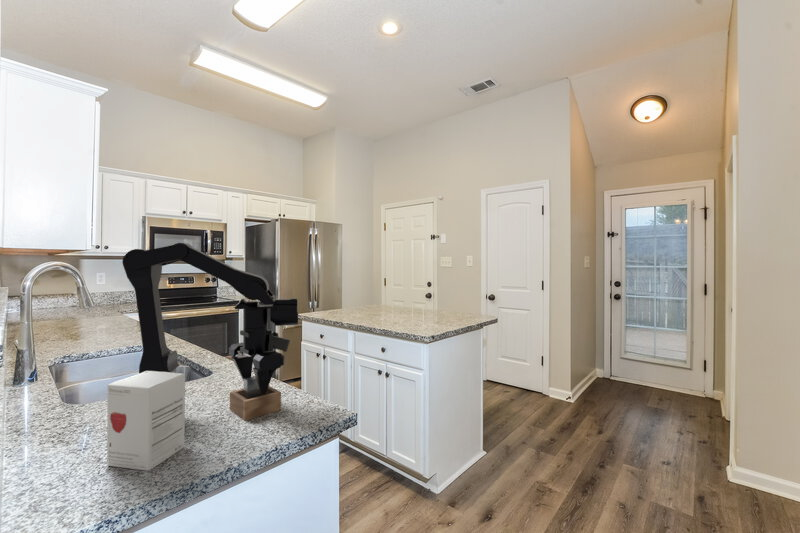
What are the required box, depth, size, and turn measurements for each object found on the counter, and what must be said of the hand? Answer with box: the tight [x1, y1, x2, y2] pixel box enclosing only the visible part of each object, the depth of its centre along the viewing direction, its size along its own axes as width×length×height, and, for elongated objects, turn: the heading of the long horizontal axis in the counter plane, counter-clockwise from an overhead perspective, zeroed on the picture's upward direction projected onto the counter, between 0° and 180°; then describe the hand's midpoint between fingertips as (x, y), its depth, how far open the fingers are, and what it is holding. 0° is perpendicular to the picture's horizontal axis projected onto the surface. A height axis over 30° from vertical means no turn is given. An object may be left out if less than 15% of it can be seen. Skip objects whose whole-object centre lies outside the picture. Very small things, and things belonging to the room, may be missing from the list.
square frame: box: [229, 385, 282, 422], centre depth 92 cm, size 9×9×4 cm
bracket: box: [243, 375, 267, 399], centre depth 92 cm, size 5×5×8 cm
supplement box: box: [106, 371, 186, 472], centre depth 70 cm, size 9×9×15 cm
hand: (255, 388), depth 92 cm, fingers open, 9 cm apart
